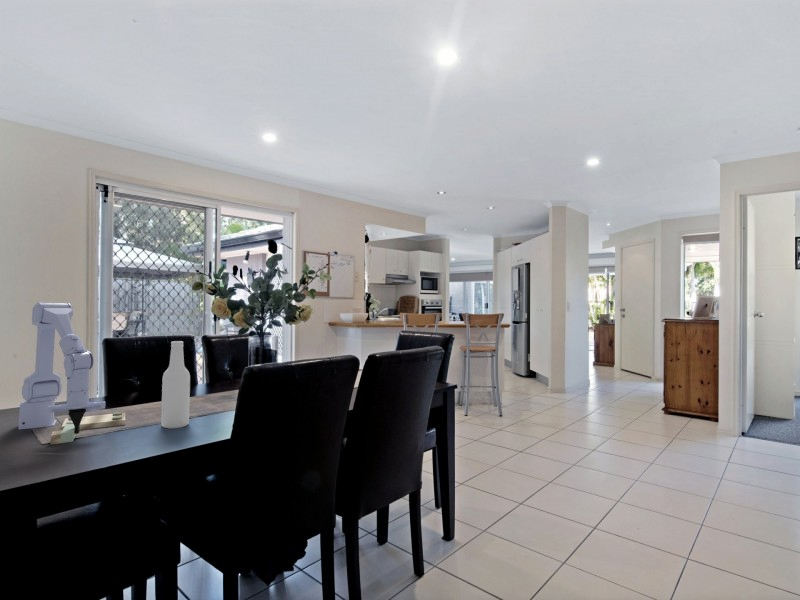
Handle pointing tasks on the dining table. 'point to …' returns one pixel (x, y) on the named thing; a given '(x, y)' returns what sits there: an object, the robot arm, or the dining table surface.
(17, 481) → the dining table surface
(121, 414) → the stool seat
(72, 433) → the hinged leg
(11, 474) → the dining table surface
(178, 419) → the alcohol
